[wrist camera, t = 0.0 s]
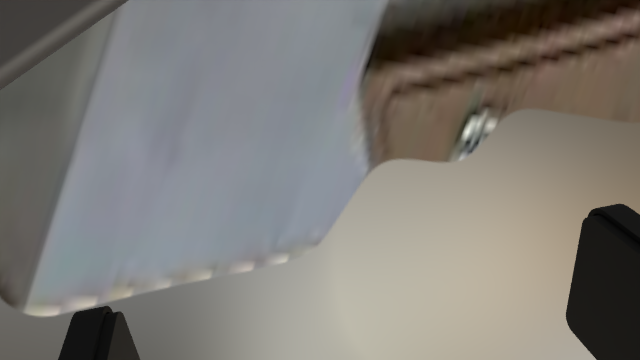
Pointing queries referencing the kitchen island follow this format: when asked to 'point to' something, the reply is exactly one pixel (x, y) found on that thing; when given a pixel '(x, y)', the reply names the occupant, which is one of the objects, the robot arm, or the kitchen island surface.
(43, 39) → the black curved block
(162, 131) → the kitchen island surface
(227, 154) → the kitchen island surface
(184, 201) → the kitchen island surface
